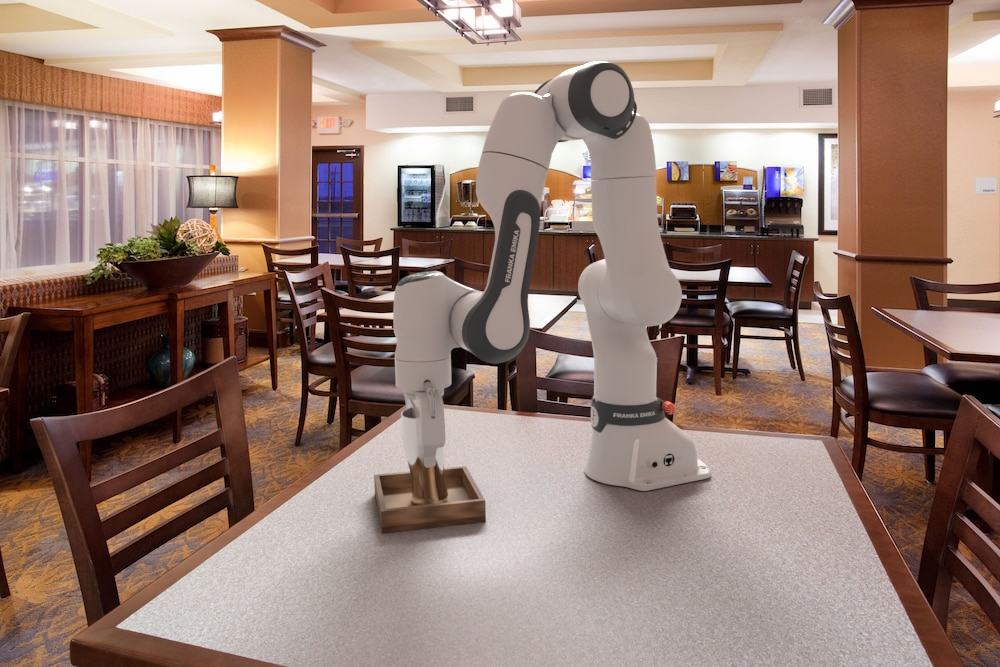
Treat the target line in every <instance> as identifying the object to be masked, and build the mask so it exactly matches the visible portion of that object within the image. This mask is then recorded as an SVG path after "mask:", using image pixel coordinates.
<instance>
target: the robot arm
mask: <svg viewBox="0 0 1000 667" xmlns="http://www.w3.org/2000/svg"><path fill="white" fill-rule="evenodd" d="M637 109H638V106H637V103H636V100H635V92H634V88H633V86H632V82H631V80H630V78H629V76H628V75H627V72H626V71H625V70H624V69H623V68H622V67H621V66H619V65H618V64H616V63H613V62H609V61H603V60H598V61H597V60H596V61H591V62H588V63H585V64H583V65H579V66H575V67H572V68H569V69H566V70H564V71H563V72H561V73H560V74H559V75H557V76H555V77H554V78H551V79H549V80H546V81H545V82H543V83H542V84H541V85H539V86H538V88H537V89H536V90H535V91H534V92H533V93H532V92H530V91H529V92H527V91H519V92H514V93H511V94H509V95H507V96H505V98H503V99H502V101H501V102H500V104H499V107H498V108H497V110H496V112H495V115H494V117H493V119H492V122H491V125H490V126H489V129H488V131H487V135H486V137H485V141H484V144H483V148H482V151H481V155H480V159H479V161H478V166H477V167H478V168H477V172H476V181H475V194H476V198H477V200H478V202H479V204H480V205H481V207H482V208H483V210H484V211H485V212H486V213H487V214H488V215H489V217H490V219H491V221H492V224H493V228H494V244H493V245H494V246H493V250H492V256H491V260H490V266H489V272H488V277H487V280H486V286H485V287H484V288H485V289H484V291H481V290H478V289H474V288H471V287H468V286H466V285H464V284H461V283H459V282H457V281H455V280H454V279H452V278H449V277H448V276H446V275H445V274H444V272H441V271H437V270H429V271H421V272H416V273H412V274H409V275H407V276H405V277H402V278H401V279H400V280H399V281H398V283H397V284H396V286H395V290H394V296H393V310H392V313H393V315H392V316H393V317H392V318H393V319H392V320H393V321H392V322H393V333H394V336H395V340H396V347H395V351H394V370H395V371H394V372H395V373H394V375H395V387H396V388H398V389H400V390H403V396H404V402H405V409H407V408H410V407H412V418H416V433H417V437H418V439H419V441H420V444H421V446H422V448H423V463H424V466H425V467H434V466H435V465H436V457H435V456H436V451H437V448H439V447H443V446H444V445H445V440H446V441H447V436H445V435H446V422H445V421H446V420H445V418H446V417H445V407H444V400H443V396H444V394H445V389H446V388H448V387H450V386H451V385H452V359H451V356H452V355H451V354H452V350H454V349H457V348H462V349H464V350H466V351H468V352H469V353H471V354H473V355H474V356H475V357H476V358H478V359H479V360H480V361H482V362H485V363H488V364H503V363H505V362H508V361H511V360H512V359H514V358H515V357H516V356H518V354H519V353H521V351H522V350H523V349H524V348H525V345H526V344H527V342H528V340H529V336H530V332H531V331H530V330H531V325H530V324H531V320H530V311H529V293H530V292H529V291H530V284H531V280H532V275H533V274H532V273H533V268H534V262H535V257H536V250H537V246H538V239H539V233H540V224H541V208H542V207H541V205H542V200H543V194H544V189H545V184H546V180H547V177H548V174H549V169H550V164H551V161H552V154H553V153H554V150H555V149H556V147H557V145H558V143H566V142H568V141H580V140H582V141H583V142H584V144H585V145H586V148H587V150H588V153H589V156H590V188H591V192H590V193H591V209H592V210H591V216H592V218H591V220H592V221H591V222H592V227H593V230H594V232H595V233H596V235H597V237H598V240H599V242H600V245H601V248H602V249H601V250H602V252H603V257H604V258H603V259H600V260H597V261H595V262H592V263H591V264H589V265H588V266H586V267H585V268H584V269H583V271H582V272H581V274H580V276H579V278H578V283H577V291H578V295H579V298H580V300H581V301H582V304H583V307H584V310H585V314H586V318H587V323H588V324H587V325H588V329H589V330H588V331H589V334H590V339H591V340H590V341H591V345H592V351H593V381H594V382H593V396H592V397H591V408H590V422H591V428H592V434H591V442H590V448H589V453H588V457H587V460H586V465H585V466H584V467H585V468H584V473H585V475H586V476H587V477H589V478H590V479H591V480H594V481H596V482H599V483H602V484H605V485H611V486H618V487H625V488H629V489H633V490H636V491H641V492H647V491H651V490H657V489H658V490H659V489H662V488H667V487H672V486H676V485H681V484H686V483H691V482H696V481H701V480H705V479H710V477H711V470H710V467H709V466H708V465H707V464H706V463H705V462H703V461H702V460H701V459H700V458H698V453H697V449H696V444H695V443H694V440H693V439H692V437H691V436H689V434H688V433H686V432H685V431H684V430H683V429H681V428H680V427H678V426H677V425H676V424H674V423H673V422H672V421H671V420H670V419H668V418H667V417H666V415H665V413H666V414H668V415H674V414H675V412H676V411H677V405H676V404H674V403H672V402H671V401H669V400H664V399H661V398H659V397H658V396H657V379H658V378H657V370H658V369H657V368H658V365H657V363H658V359H657V352H656V351H655V349H654V348H653V345H652V342H651V341H650V338H649V335H648V331H647V330H648V329H647V327H654V326H660V325H664V324H666V323H667V322H669V321H670V320H672V319H673V318H674V316H675V315H676V314H677V313H678V311H679V309H680V306H681V303H682V301H683V300H682V298H683V292H682V286H681V283H680V281H679V280H678V277H677V276H676V275H675V273H674V272H673V271H672V269H671V267H670V264H669V262H668V259H667V255H666V252H665V248H664V244H663V241H662V237H661V232H660V226H659V219H658V195H657V194H658V193H657V166H656V153H655V146H654V140H653V135H652V130H651V126H650V123H649V121H648V120H647V119H646V118H645V117H644V116H643V115H641V114H639V113H637ZM431 417H432V418H431ZM434 417H435V418H434Z"/></svg>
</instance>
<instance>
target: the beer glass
mask: <svg viewBox="0 0 1000 667" xmlns="http://www.w3.org/2000/svg"><path fill="white" fill-rule="evenodd" d="M400 418H401V419H400V420H401V421H400V422H401V424H400V426H401V429H400V430H401V440H402V447H403V451H404V452H403V453H404V456H405V459H406V463H407V466H408V469H409V471H410V473H411V478H412V494H411V500H412V502H413V503H414V504H416V505H427V504H436V503H442V502H444V501H445V500H446V499H447V498H448V490H447V487H446V484H445V479H444V468H445V460H446V450H447V448H446V447H447V439H446V440H445V445H444V446H443V447H439V448H437V451H436V456H435V457H436V465H435V466H434V467H425V466H424V463H423V448H422V446H421V444H420V441H419V439H418V437H417V433H416V418H412V407H410V408H405V409H403V410H402V411H401V413H400ZM431 418H432V417H431ZM434 418H435V417H434ZM445 436H446V434H445ZM446 437H447V436H446Z"/></svg>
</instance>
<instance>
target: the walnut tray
mask: <svg viewBox="0 0 1000 667" xmlns="http://www.w3.org/2000/svg"><path fill="white" fill-rule="evenodd" d="M444 479H445V484H446V487H447V490H448V498H447V499H446V500H445V501H444V502H442V503H436V504H427V505H416V504H414V503H413V502H412V500H411V494H412V478H411V473H410V470H409V471H399V472H390V473H381V474H380V473H379V474H374V475H373V481H374V484H373V485H374V497H375V501H376V502H375V503H376V509H377V512H378V513H377V514H378V518H379V519H378V520H379V523H380V524H379V525H380V529H381V534H389V533H390V532H391V533H398V531H400V532H407V531H406V530H408V531H415V530H414V529H417V530H424V529H434V528H441V527H450V526H460V525H469V524H478V523H486V522H487V521H486V520H487V516H486V515H487V513H486V498H485V497H484V495H483V494H482V492H481V490H480V488H479V487H478V485H477V482H475V480H474V478H473V476H472V475H471V473H470V470H469V469H468V467H467V466H466V465H465V466H453V467H444ZM391 533H390V534H391Z"/></svg>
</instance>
